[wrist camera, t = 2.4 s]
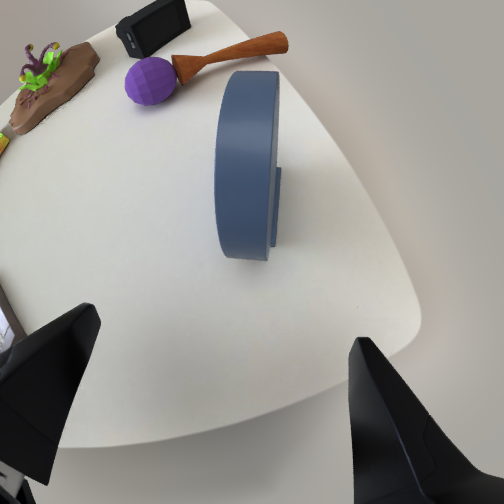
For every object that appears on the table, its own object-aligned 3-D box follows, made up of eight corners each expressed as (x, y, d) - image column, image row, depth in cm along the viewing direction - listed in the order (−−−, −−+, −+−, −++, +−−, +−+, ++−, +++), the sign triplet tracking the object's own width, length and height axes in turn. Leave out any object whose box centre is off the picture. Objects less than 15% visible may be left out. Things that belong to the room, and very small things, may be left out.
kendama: (298, 39, 24) (124, 92, 21) (288, 70, 30) (139, 122, 27) (273, 14, 24) (114, 61, 21) (267, 45, 30) (127, 91, 27)
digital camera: (169, 24, 33) (160, -5, 26) (191, 27, 32) (183, -6, 25) (125, 56, 31) (110, 26, 24) (145, 60, 30) (130, 25, 23)
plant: (99, 39, 35) (79, 2, 24) (101, 80, 30) (70, 29, 19) (24, 91, 34) (-1, 62, 23) (10, 149, 29) (-28, 116, 18)
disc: (272, 277, 22) (276, 221, 9) (232, 274, 22) (186, 215, 10) (282, 149, 24) (286, 36, 12) (248, 147, 25) (233, 35, 12)
